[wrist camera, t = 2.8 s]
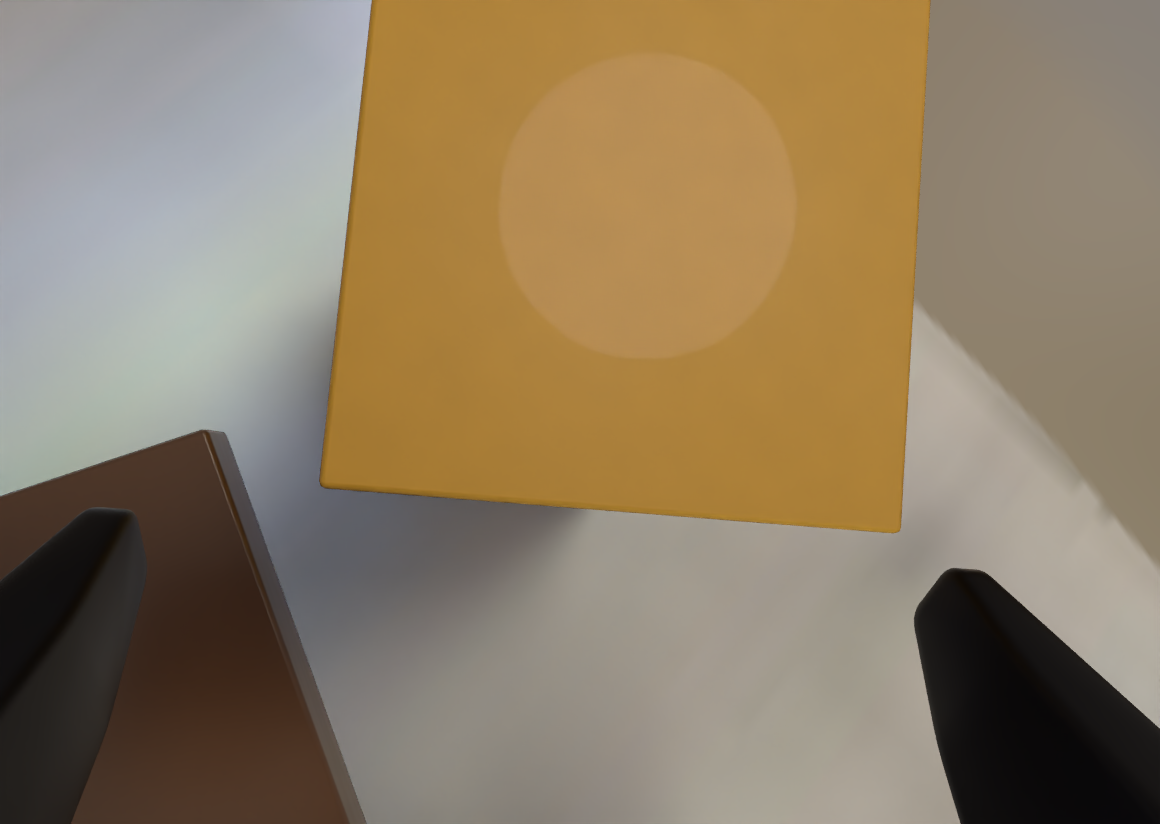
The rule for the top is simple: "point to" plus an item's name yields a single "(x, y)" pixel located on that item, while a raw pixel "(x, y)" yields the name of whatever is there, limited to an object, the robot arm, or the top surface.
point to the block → (634, 257)
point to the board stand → (197, 651)
